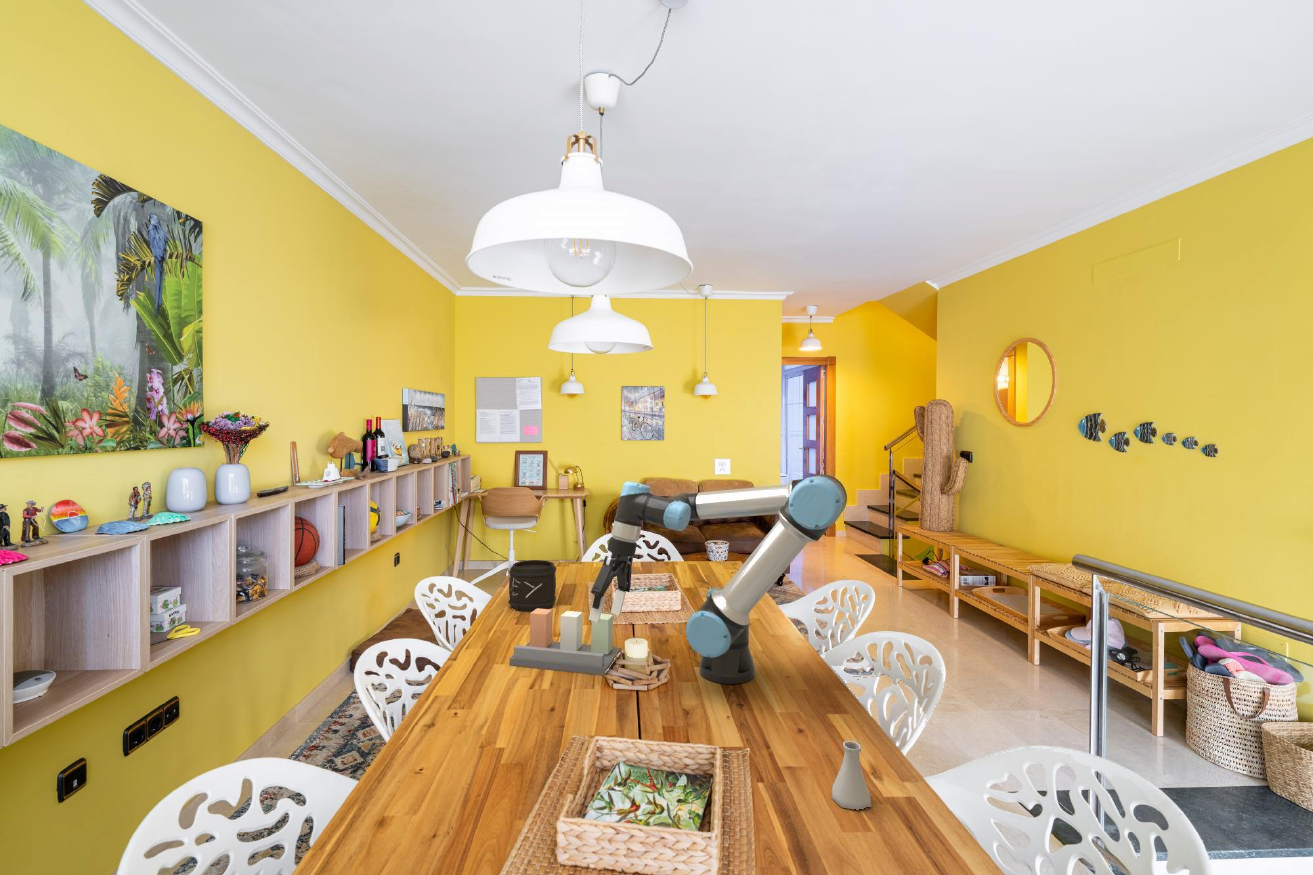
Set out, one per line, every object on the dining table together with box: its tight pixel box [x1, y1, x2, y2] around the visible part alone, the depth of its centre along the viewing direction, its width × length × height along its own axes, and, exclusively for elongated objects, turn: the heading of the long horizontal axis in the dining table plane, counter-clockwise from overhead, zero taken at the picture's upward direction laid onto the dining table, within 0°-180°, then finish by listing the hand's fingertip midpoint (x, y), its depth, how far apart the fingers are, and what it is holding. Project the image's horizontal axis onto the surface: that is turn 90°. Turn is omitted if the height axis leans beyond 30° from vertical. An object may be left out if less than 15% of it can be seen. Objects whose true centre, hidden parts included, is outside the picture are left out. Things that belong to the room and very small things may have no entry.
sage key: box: [590, 613, 614, 655], centre depth 177 cm, size 5×5×10 cm
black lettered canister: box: [508, 559, 557, 613], centre depth 228 cm, size 18×18×16 cm
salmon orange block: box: [529, 608, 554, 648], centre depth 181 cm, size 5×5×10 cm
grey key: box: [559, 610, 584, 651], centre depth 179 cm, size 5×5×10 cm
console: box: [509, 640, 622, 676], centre depth 176 cm, size 28×16×5 cm, turn 77°
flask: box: [831, 740, 872, 811], centre depth 111 cm, size 7×7×10 cm
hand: (604, 617), depth 161 cm, fingers open, 13 cm apart
